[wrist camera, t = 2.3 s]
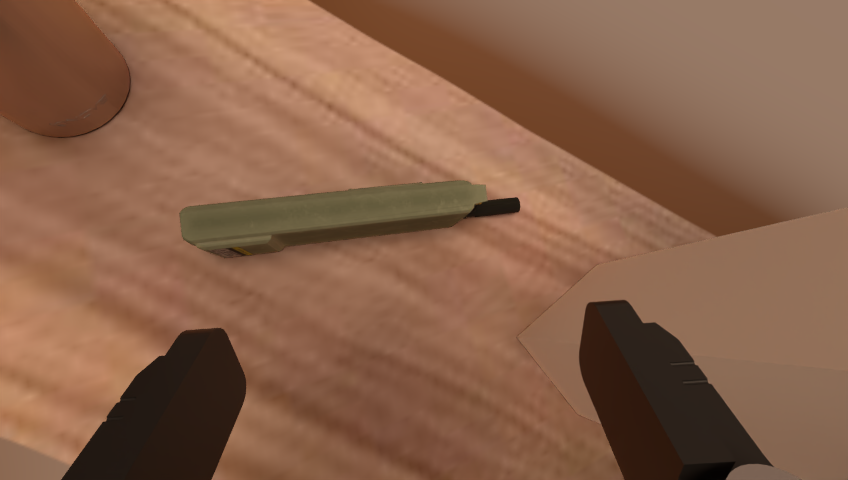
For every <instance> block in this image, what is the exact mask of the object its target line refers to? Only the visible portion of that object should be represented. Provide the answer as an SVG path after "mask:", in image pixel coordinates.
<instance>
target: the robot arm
mask: <svg viewBox="0 0 848 480" xmlns="http://www.w3.org/2000/svg"><path fill="white" fill-rule="evenodd" d="M129 84H130V76H129V71H128V67H127V64H126V62H125V60H124V58H123V56H122V55H121V54H120V53H119V51H118V50H117V49H116V48H115V46H114V45H113V44H112V43H111V42H110V41H109V40H108V38H107V37H106V36H105V35H104V34H103V33H102V31H101V30H100V29H99V28H98V27H97V26H96V25H95V23H94V22H93V21H92V20H91V19H90V17H89V16H88V15H87V14H86V13H85V12H84V10H83V9H82V8H81V7H80V6H79V5H78V3H77V2H76V1H75V0H0V115H2V116H4V117H5V118H7V119H9V120H11V121H12V122H14V123H16V124H18V125H19V126H21V127H23V128H25V129H27V130H29V131H31V132H34V133H37V134H40V135H44V136H52V137H68V136H76V135H80V134H84V133H87V132H90V131H92V130H94V129H96V128H99V127H100V126H102V125H103V124H105V123H106V122H108V121H109V120H110V119H111V118H112V117H113V116H114V115H115V114H116V113H117V112H118V111H119V110H120V108H121V107H122V105H123V104H124V102H125V100H126V97H127V94H128V91H129ZM579 365H580V371H581V375H582V378H583V381H584V384H585V386H586V389H587V391H588V393H589V396H590V398H591V401H592V403H593V405H594V408H595V410H596V412H597V415H598V417H599V420H600V422H601V424H602V427H603V429H604V431H605V434H606V436H607V439H608V441H609V443H610V446H611V448H612V451H613V453H614V455H615V458H616V460H617V462H618V465H619V467H620V470H621V472H622V474H623V477H624V479H625V480H802V479H800V478H798V477H797V476H795V475H793V474H791V473H789V472H787V471H784V470H781V469H779V468H776V467H774V466H773V465H772V464H771V463H770V462H769V461H768V459H767V458H766V457H765V456H764V454H763V453H762V452H761V450H760V449H759V448H758V446H757V445H756V443H755V442H754V441H753V439H752V438H751V437H750V435H749V434H748V433H747V431H746V430H745V429H744V427H743V426H742V425H741V423H740V422H739V420H738V419H737V418H736V416H735V415H734V414H733V412H732V411H731V410H730V408H729V407H728V406H727V404H726V403H725V402H724V400H723V399H722V397H721V396H720V395H719V393H718V392H717V391H716V389H715V388H714V387H713V385H712V384H709V383H708V379H707V377H706V376H705V374H704V373H703V372H702V370H701V369H700V368H699V366H698V365H695V363H694V360H693V358H692V357H691V356H690V354H689V353H688V351H687V350H686V349H685V347H684V346H683V345H682V343H681V342H680V341H679V339H677V338H676V337H675V336H673V335H672V334H671V333H669V332H668V331H666V330H665V329H664V328H662V327H661V326H660V325H658V324H657V323H656V322H652V323H643V322H642V321H641V319H640V318H639V316H638V315H637V313H636V312H635V310H634V309H633V307H632V306H631V304H630V303H629V302H628V301H626V300H613V301H599V302H589V303H588V304H587V306H586V309H585V315H584V322H583V329H582V336H581V342H580V349H579ZM245 394H246V379H245V375H244V372H243V370H242V367H241V365H240V363H239V361H238V358H237V356H236V354H235V352H234V349H233V347H232V345H231V342H230V340H229V338H228V336H227V334H226V332H225V331H224V330H223V329H221V328H212V329H198V330H186V331H184V332H182V333H181V334H180V335H179V336H178V337H177V339H176V340H175V342H174V343H173V345H172V346H171V348H170V349H169V350H168V352H167V353H166V355H165V356H159V357H158V358H157V359H155V360H154V361H153V362H152V363H151V364H150V365H148V366H147V367H146V368H145V369H144V370H142V371H141V372H140V373H139V374H138V375H137V376H136V377H135V378H134V380H133V381H132V382H131V384H130V385H129V387H128V388H127V389H126V391H125V392H124V393H123V395H122V396H121V398H120V399H121V400H120V402H119V403H116V405H115V406H114V407H113V409H112V410H111V412H110V413H109V414H108V416H107V420H106V422H103V423H102V424H101V425H100V427H99V428H98V430H97V431H96V432H95V434H94V435H93V436H92V438H91V439H90V441H89V442H88V443H87V445H86V446H85V448H84V449H83V450H82V452H81V453H80V454H79V456H78V457H77V459H76V460H75V461H74V463H73V464H72V466H71V467H70V468H69V470H68V471H67V472H66V474H65V475H64V477H63V478H62V479H61V480H211V479H212V477H213V474H214V472H215V470H216V467H217V465H218V463H219V460H220V458H221V455H222V453H223V451H224V448H225V446H226V443H227V441H228V439H229V436H230V434H231V431H232V429H233V427H234V424H235V422H236V419H237V417H238V415H239V412H240V410H241V407H242V405H243V402H244V399H245Z"/></svg>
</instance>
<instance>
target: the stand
mask: <svg viewBox="0 0 848 480" xmlns="http://www.w3.org/2000/svg"><path fill="white" fill-rule="evenodd" d="M613 300H626V301H628V302H629V303H630V304H631V306H632V307H633V309H634V310H635V312H636V313H637V315H638V316H639V318H640V319H641V321H642V322H643V323H652V322H656V323H657V324H658V325H660V326H661V327H662V328H664V329H665V330H666V331H668V332H669V333H671V334H672V335H673V336H675V337H676V338H677V339H679V341H680V342H681V343H682V345H683V346H684V347H685V349H686V350H687V351H688V353H689V354H690V356H691V357H692V358H693V360H694V363H695V365H698V366H699V368H700V369H701V370H702V372H703V373H704V374H705V376H706V377H707V379H708V383H709V384H712V385H713V387H714V388H715V389H716V391H717V392H718V393H719V395H720V396H721V397H722V399H723V400H724V402H725V403H726V404H727V406H728V407H729V408H730V410H731V411H732V412H733V414H734V415H735V416H736V418H737V419H738V420H739V422H740V423H741V425H742V426H743V427H744V429H745V430H746V431H747V433H748V434H749V435H750V437H751V438H752V439H753V441H754V442H755V443H756V445H757V446H758V448H759V449H760V450H761V452H762V453H763V454H764V456H765V457H766V458H767V459H768V461H769V462H770V463H771V464H772V465H773V466H774V467H776V468H779V469H781V470H784V471H787V472H789V473H791V474H793V475H795V476H797V477H798V478H800V479H802V480H848V207H847V208H843V209H838V210H834V211H829V212H825V213H821V214H816V215H812V216H807V217H803V218H799V219H794V220H791V221H786V222H781V223H777V224H773V225H768V226H764V227H760V228H755V229H751V230H747V231H742V232H738V233H733V234H729V235H724V236H720V237H716V238H711V239H707V240H703V241H698V242H694V243H689V244H685V245H681V246H676V247H672V248H668V249H663V250H659V251H654V252H650V253H646V254H641V255H637V256H633V257H628V258H624V259H620V260H615V261H611V262H606V263H602V264H598V265H596V266H595V267H594V268H593V269H592V270H590V271H589V272H588V273H587V274H586V275H585V276H584V277H583V278H582V279H580V280H579V281H578V282H577V283H576V284H575V285H574V286H573V287H572V288H570V289H569V290H568V291H567V292H566V293H565V294H564V295H563V296H562V297H561V298H559V299H558V300H557V301H556V302H555V303H554V304H553V305H552V306H551V307H549V308H548V309H547V310H546V311H545V312H544V313H543V314H542V315H541V316H539V317H538V318H537V319H536V320H535V321H534V322H533V323H532V324H531V325H529V326H528V327H527V328H526V329H525V330H524V331H523V332H522V333H521V334H519V335H518V336H517V338H518V340H519V341H520V342H521V343H522V345H523V346H524V347H525V348H526V350H527V351H528V352H529V354H530V355H531V356H532V357H533V359H534V360H535V361H536V362H537V364H538V365H539V366H540V367H541V369H542V370H543V371H544V373H545V374H546V375H547V376H548V378H549V379H550V380H551V381H552V383H553V384H554V385H555V387H556V388H557V389H558V390H559V392H560V393H561V394H562V395H563V397H564V398H565V399H566V400H567V402H568V403H569V404H570V406H571V407H572V408H573V409H574V411H575V412H576V413H577V414H578V415H580V416H583V417H585V418H588V419H590V420H592V421H595V422H597V423H599V424H601V422H600V420H599V417H598V415H597V412H596V410H595V408H594V405H593V403H592V401H591V398H590V396H589V393H588V391H587V389H586V386H585V384H584V381H583V378H582V375H581V371H580V365H579V349H580V342H581V336H582V329H583V322H584V315H585V309H586V306H587V304H588V303H589V302H599V301H613Z"/></svg>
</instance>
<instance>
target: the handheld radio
mask: <svg viewBox="0 0 848 480" xmlns="http://www.w3.org/2000/svg"><path fill="white" fill-rule="evenodd" d="M519 210H520V201H519V199H518V198H517V197H515V198H506V199H497V200H487V192H486V185H472V184H471V183H470V182H468V181H447V182H436V183H425V184H423V183H422V182H420V183H412V184H401V185H391V186H381V187H370V188H360V189H349V190H347V191H336V192H327V193H317V194H307V195H297V196H288V197H278V198H268V199H258V200H248V201H238V202H228V203H218V204H208V205H198V206H189V207H186V208H184V209H183V210H182V211H181V212H180V213H179V214H180V223H181V232H182V237H183V239H184V240H185V241H187V242H188V243H190V244H192V245H195V246H197V248H199V249H202V250H204V251H207V252H210V253H213V254H215V255H218V256H221V257H224V258H230V257H238V256H246V255H255V254H263V253H272V252H279V251H281V250H283V248H284V247H286V246H295V245H303V244H312V243H320V242H329V241H337V240H346V239H354V238H363V237H371V236H380V235H388V234H397V233H405V232H414V231H423V230H431V229H440V228H448V227H452V226H453V225H454V224H456V223H457V222H458V221H460V220H461V219H462V218H466V217H472V216H475V217H480V216H488V215H497V214H506V213H515V212H519Z"/></svg>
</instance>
